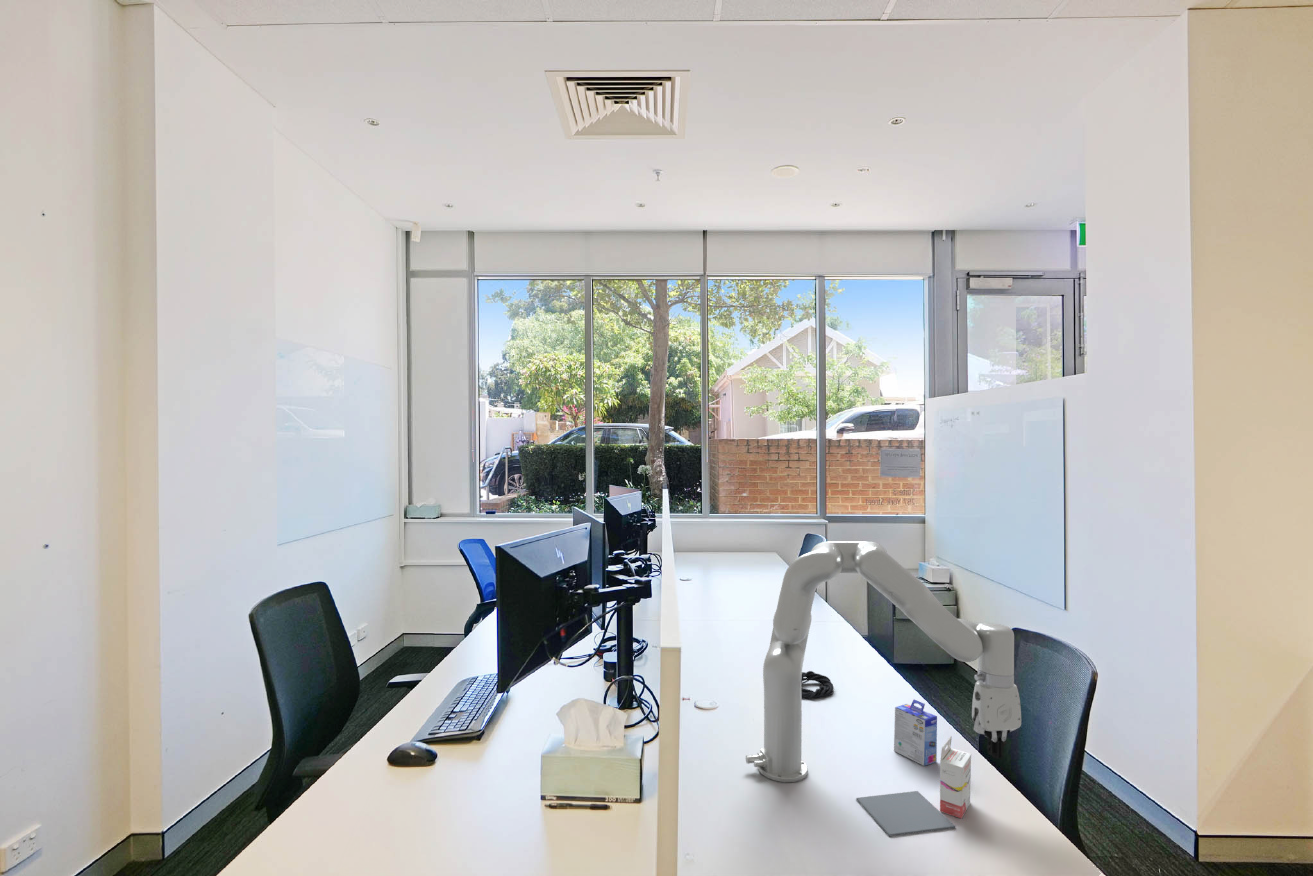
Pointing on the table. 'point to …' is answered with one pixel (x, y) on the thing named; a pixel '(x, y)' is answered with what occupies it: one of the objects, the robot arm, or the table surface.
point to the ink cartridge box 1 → (915, 733)
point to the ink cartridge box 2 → (954, 780)
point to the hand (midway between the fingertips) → (995, 755)
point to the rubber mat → (904, 813)
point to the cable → (822, 690)
